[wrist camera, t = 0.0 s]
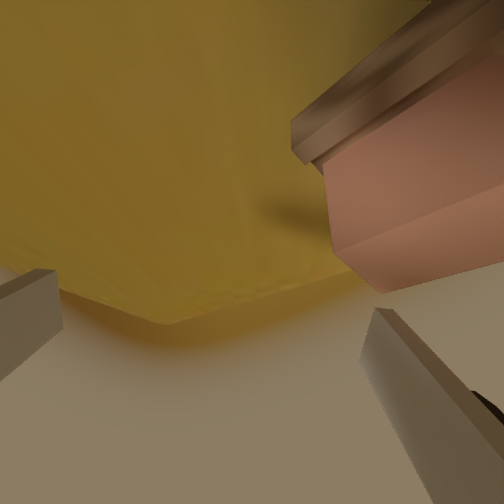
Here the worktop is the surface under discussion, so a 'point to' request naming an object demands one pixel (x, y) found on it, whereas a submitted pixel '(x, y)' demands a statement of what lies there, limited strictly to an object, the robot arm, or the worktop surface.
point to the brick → (425, 186)
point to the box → (399, 75)
